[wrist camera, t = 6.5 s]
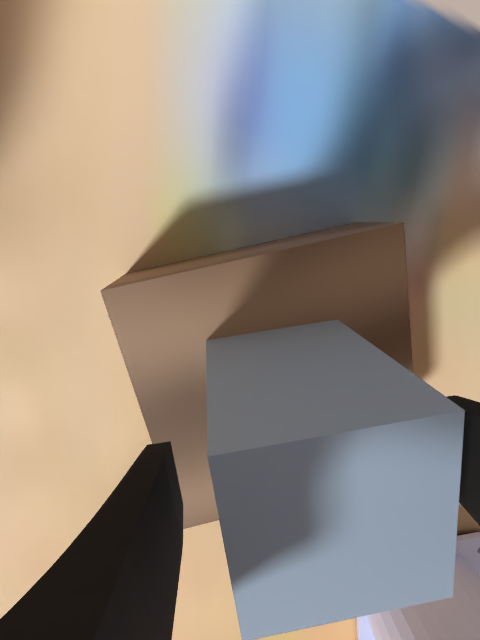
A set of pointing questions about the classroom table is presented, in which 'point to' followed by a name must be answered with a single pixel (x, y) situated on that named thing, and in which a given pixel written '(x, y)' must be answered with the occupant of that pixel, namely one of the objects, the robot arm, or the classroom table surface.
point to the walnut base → (248, 323)
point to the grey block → (329, 477)
